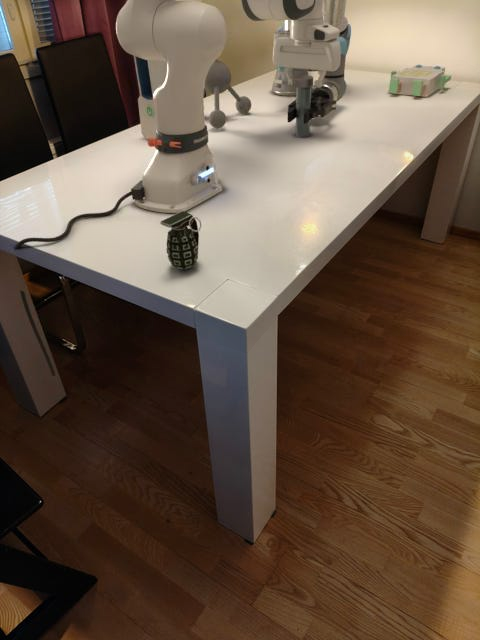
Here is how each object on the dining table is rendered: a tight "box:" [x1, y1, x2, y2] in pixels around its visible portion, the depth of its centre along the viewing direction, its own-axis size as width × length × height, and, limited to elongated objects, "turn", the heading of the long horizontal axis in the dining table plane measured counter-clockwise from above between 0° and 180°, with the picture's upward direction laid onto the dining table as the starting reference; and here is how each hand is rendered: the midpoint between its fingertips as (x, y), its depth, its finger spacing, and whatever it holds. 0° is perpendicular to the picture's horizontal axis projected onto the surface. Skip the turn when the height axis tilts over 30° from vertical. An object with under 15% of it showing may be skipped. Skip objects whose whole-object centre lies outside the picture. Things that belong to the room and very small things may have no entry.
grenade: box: [159, 211, 202, 271], centre depth 88 cm, size 7×6×10 cm
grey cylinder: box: [295, 86, 312, 138], centre depth 144 cm, size 4×4×15 cm
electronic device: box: [133, 55, 167, 140], centre depth 143 cm, size 12×8×30 cm, turn 47°
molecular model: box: [203, 58, 252, 129], centre depth 157 cm, size 24×22×30 cm
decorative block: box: [388, 64, 452, 98], centre depth 182 cm, size 26×6×20 cm
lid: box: [295, 75, 314, 88], centre depth 140 cm, size 5×5×2 cm
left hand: (304, 85), depth 140 cm, fingers open, 7 cm apart
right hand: (296, 118), depth 141 cm, fingers closed on grey cylinder, 4 cm apart
